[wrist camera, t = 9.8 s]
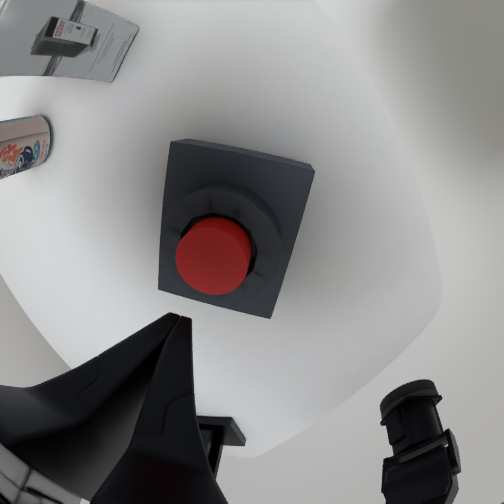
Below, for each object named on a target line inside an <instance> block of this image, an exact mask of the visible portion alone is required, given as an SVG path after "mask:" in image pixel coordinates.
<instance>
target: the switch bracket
mask: <svg viewBox="0 0 504 504" xmlns="http://www.w3.org/2000/svg"><path fill="white" fill-rule="evenodd" d="M197 420H198V425H199V430H200V433H201V437H202V441H203V444H204V448H205V451H206V455H207V458H208V462H209V465H210V468H211V470H212V473H213V475H214V478H215V480H216V476H217V472H218V467H219V463H220V458H221V454H222V449H223V445H229V446H245V442H246V439H245V438H244V436H243V435H242V433H241V432H240V430H239V428H238V427H237V425H236V424H235V422H234V421H233V419H232V418H223V417H202V416H197Z"/></svg>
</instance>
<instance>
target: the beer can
mask: <svg viewBox="0 0 504 504" xmlns="http://www.w3.org/2000/svg"><path fill="white" fill-rule="evenodd" d="M49 146H50V131H49V127H48V123H47V122H46V120H45V119H44V118H43V117H42V116H40V115H34V116H30V117H23V118H17V119H11V120H5V121H0V179H3V178H5V177H8V176H11V175H13V174H16V173H19V172H22V171H24V170H27V169H30V168H33V167H37V166H39V165H41V164H42V163H43V162H44V160H45V159H46V156H47V154H48V150H49Z"/></svg>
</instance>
